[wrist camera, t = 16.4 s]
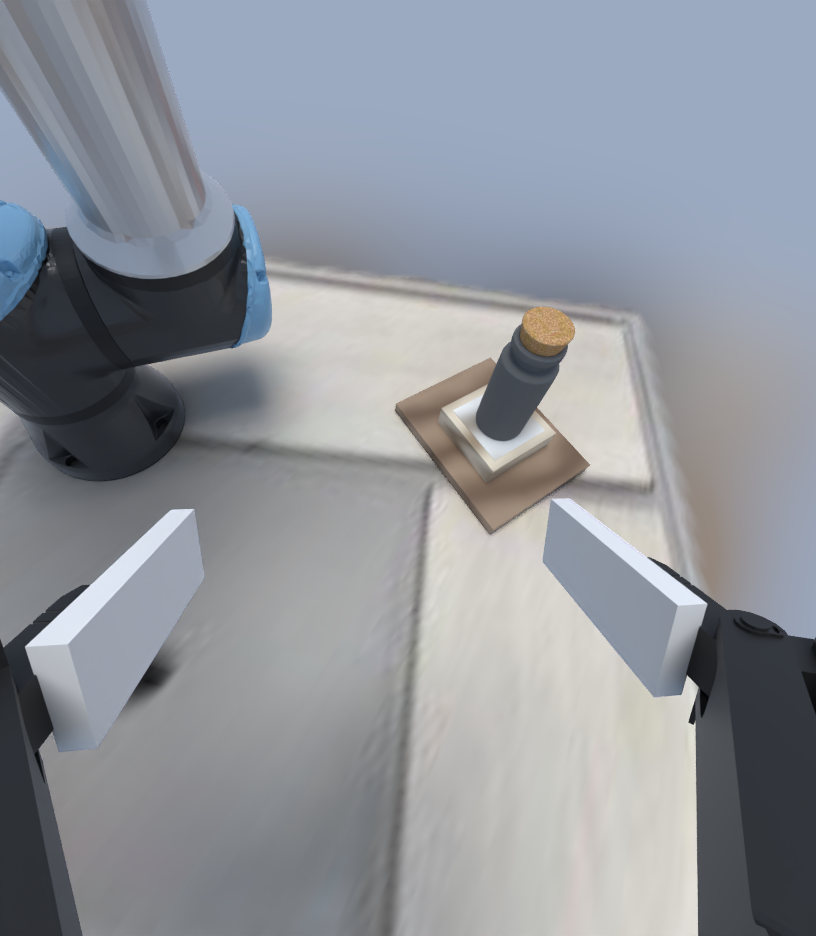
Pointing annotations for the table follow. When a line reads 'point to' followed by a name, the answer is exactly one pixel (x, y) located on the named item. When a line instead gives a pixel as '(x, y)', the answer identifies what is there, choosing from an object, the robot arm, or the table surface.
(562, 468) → the plinth
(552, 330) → the bottle
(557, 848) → the table surface
